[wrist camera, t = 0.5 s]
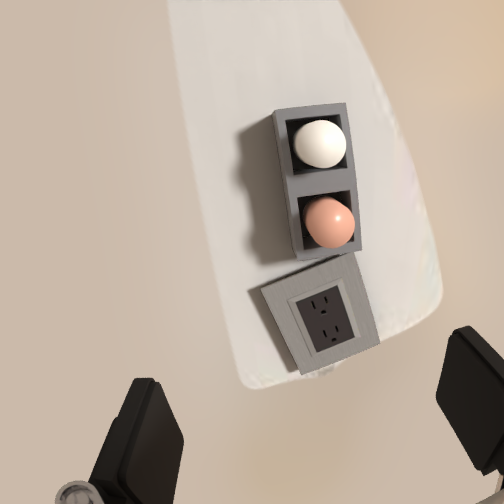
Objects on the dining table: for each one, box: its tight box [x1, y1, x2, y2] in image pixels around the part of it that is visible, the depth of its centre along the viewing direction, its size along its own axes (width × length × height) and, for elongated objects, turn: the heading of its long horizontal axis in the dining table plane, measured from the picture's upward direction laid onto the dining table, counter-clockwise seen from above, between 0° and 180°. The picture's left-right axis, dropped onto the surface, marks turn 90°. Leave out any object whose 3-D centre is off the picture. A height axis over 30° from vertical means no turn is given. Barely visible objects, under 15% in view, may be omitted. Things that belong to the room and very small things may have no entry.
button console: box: [272, 103, 362, 261], centre depth 30 cm, size 14×6×4 cm, turn 10°
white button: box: [292, 120, 346, 168], centre depth 27 cm, size 4×4×4 cm
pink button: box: [303, 195, 355, 248], centre depth 29 cm, size 4×4×4 cm
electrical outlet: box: [260, 252, 380, 375], centre depth 36 cm, size 13×10×2 cm
